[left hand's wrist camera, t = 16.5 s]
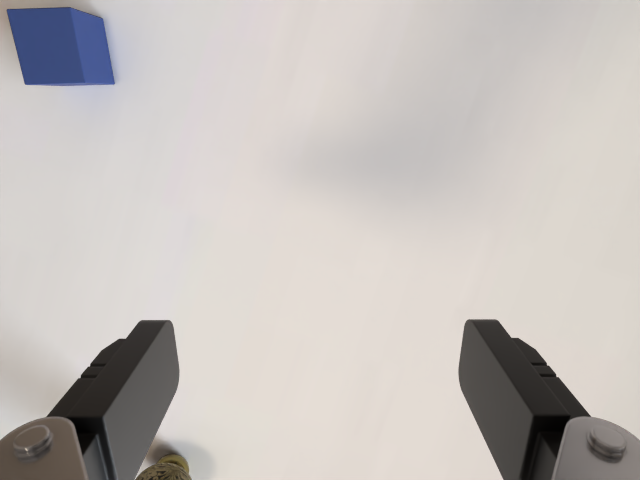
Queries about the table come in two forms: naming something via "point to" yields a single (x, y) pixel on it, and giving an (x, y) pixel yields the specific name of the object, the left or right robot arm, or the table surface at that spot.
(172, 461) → the cup
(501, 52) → the table surface
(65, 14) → the brick
